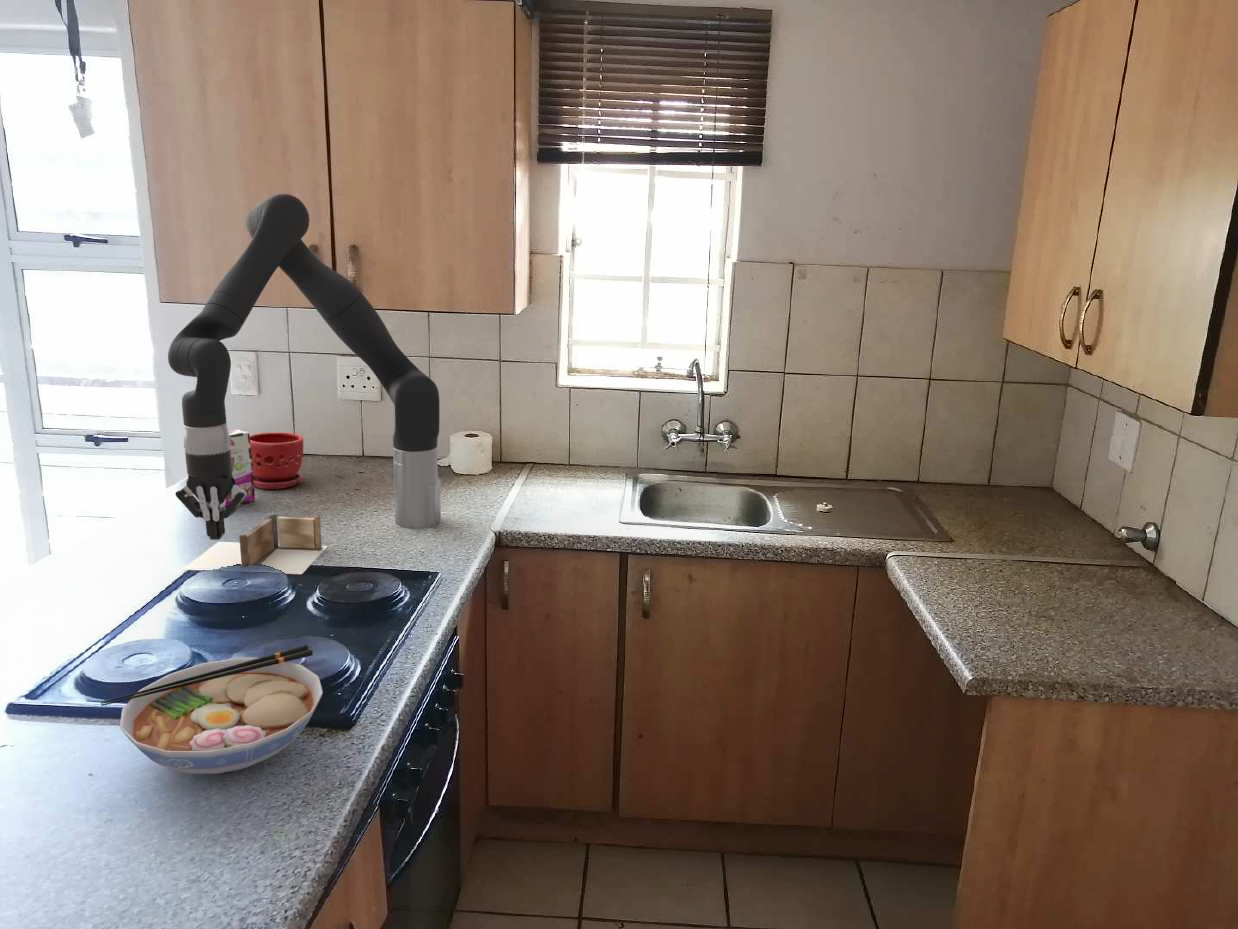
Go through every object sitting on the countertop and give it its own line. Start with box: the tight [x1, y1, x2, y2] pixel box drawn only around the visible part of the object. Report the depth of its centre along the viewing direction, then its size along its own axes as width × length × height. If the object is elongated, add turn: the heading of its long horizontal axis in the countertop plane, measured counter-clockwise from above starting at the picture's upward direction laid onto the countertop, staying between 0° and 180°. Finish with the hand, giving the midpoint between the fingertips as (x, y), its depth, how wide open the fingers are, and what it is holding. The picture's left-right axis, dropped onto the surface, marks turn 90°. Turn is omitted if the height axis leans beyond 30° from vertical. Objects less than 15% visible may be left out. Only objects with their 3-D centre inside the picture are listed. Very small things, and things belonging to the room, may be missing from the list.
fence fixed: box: [267, 513, 323, 550], centre depth 180 cm, size 10×2×7 cm, turn 89°
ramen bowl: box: [100, 644, 324, 775], centre depth 112 cm, size 25×23×8 cm
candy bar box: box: [225, 429, 256, 509], centre depth 205 cm, size 11×5×16 cm, turn 143°
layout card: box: [182, 541, 329, 575], centre depth 175 cm, size 22×15×1 cm
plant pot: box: [249, 432, 304, 490], centre depth 222 cm, size 13×13×12 cm
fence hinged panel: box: [238, 518, 274, 567], centre depth 173 cm, size 12×1×6 cm, turn 176°
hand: (216, 538), depth 169 cm, fingers closed
